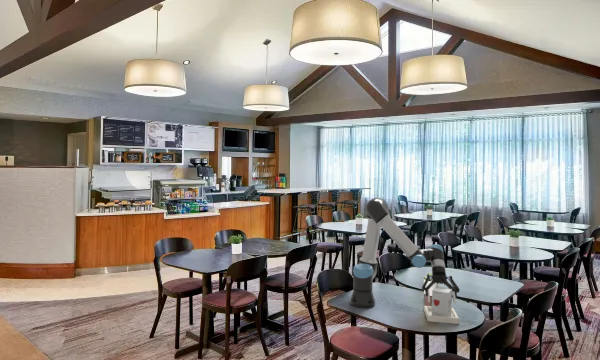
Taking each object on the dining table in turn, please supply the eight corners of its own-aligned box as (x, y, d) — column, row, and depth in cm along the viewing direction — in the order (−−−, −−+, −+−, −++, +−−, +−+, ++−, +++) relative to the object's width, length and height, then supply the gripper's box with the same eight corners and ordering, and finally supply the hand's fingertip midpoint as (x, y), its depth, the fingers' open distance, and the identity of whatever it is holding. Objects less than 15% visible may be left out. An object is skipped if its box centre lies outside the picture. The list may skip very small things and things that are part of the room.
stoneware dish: (427, 321, 214) (427, 315, 214) (424, 310, 230) (424, 305, 229) (458, 323, 211) (458, 318, 211) (453, 313, 226) (453, 308, 226)
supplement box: (430, 316, 218) (431, 289, 218) (435, 311, 226) (435, 285, 225) (447, 320, 213) (448, 292, 213) (451, 315, 221) (452, 288, 220)
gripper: (459, 273, 232) (464, 307, 218) (416, 270, 237) (417, 303, 223) (461, 266, 227) (466, 300, 213) (417, 264, 232) (419, 297, 217)
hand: (441, 302), depth 218 cm, fingers open, 13 cm apart
